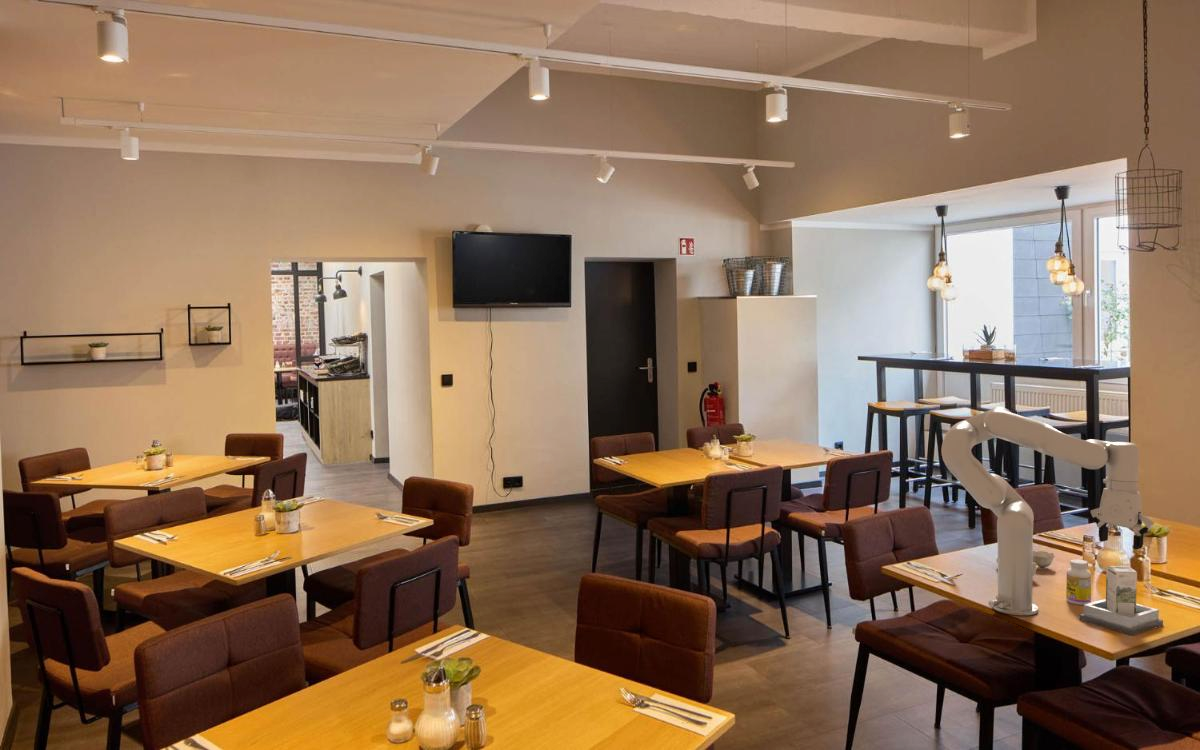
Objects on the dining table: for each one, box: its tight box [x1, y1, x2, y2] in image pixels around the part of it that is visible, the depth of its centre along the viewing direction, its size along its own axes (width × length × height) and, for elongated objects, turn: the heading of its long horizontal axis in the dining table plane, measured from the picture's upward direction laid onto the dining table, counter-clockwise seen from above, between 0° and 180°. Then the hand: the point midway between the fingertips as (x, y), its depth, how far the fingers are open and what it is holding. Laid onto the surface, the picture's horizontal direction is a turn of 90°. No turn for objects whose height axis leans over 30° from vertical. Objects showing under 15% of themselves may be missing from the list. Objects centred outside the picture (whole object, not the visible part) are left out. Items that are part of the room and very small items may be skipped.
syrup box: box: [1105, 565, 1138, 616], centre depth 245 cm, size 6×6×14 cm
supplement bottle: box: [1065, 558, 1092, 606], centre depth 264 cm, size 7×7×13 cm
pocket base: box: [1079, 598, 1164, 636], centre depth 246 cm, size 15×15×4 cm
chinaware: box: [996, 550, 1056, 577], centre depth 296 cm, size 28×17×17 cm, turn 141°
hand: (1120, 544), depth 245 cm, fingers open, 9 cm apart
